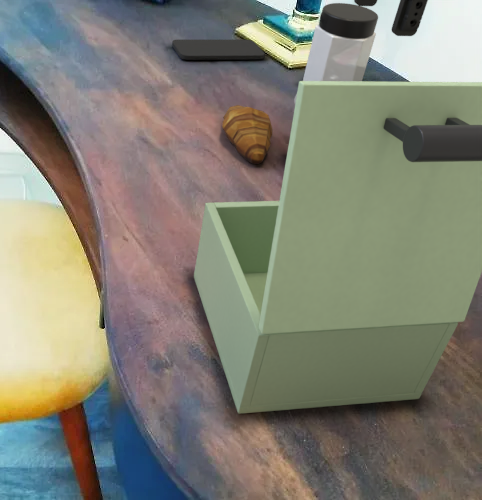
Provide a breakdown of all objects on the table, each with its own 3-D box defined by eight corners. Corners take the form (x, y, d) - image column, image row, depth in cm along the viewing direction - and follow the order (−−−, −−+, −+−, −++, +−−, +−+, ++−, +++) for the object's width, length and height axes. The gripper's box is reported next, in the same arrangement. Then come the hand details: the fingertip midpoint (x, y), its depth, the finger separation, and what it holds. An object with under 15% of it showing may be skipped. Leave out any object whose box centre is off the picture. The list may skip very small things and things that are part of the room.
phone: (267, 55, 109) (182, 55, 106) (266, 60, 110) (181, 60, 106) (252, 39, 115) (170, 39, 111) (251, 44, 115) (170, 44, 112)
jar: (319, 72, 107) (338, -2, 100) (365, 88, 104) (388, 12, 96) (293, 87, 101) (311, 10, 94) (341, 105, 98) (363, 25, 90)
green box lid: (298, 80, 37) (337, 108, 32) (538, 82, 40) (605, 108, 35) (257, 327, 45) (284, 377, 41) (458, 315, 48) (503, 360, 44)
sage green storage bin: (193, 276, 64) (205, 202, 58) (341, 269, 66) (366, 198, 61) (238, 413, 51) (258, 335, 45) (419, 399, 53) (459, 323, 48)
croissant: (283, 168, 81) (291, 133, 78) (230, 168, 81) (237, 132, 77) (256, 118, 92) (263, 85, 89) (210, 118, 91) (215, 84, 88)
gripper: (533, -163, 49) (454, 47, 59) (438, -183, 60) (385, -3, 70) (443, -170, 48) (378, 46, 58) (363, -189, 58) (320, -5, 68)
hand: (382, 19), depth 64 cm, fingers open, 8 cm apart
